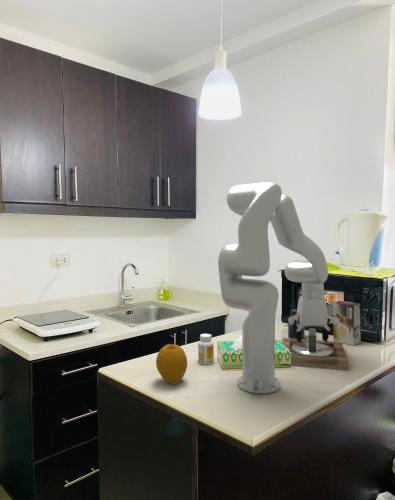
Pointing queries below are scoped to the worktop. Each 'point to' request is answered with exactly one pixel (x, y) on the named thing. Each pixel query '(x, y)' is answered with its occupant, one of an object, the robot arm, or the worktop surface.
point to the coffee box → (347, 322)
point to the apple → (171, 363)
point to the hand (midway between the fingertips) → (311, 341)
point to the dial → (312, 347)
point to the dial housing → (333, 362)
